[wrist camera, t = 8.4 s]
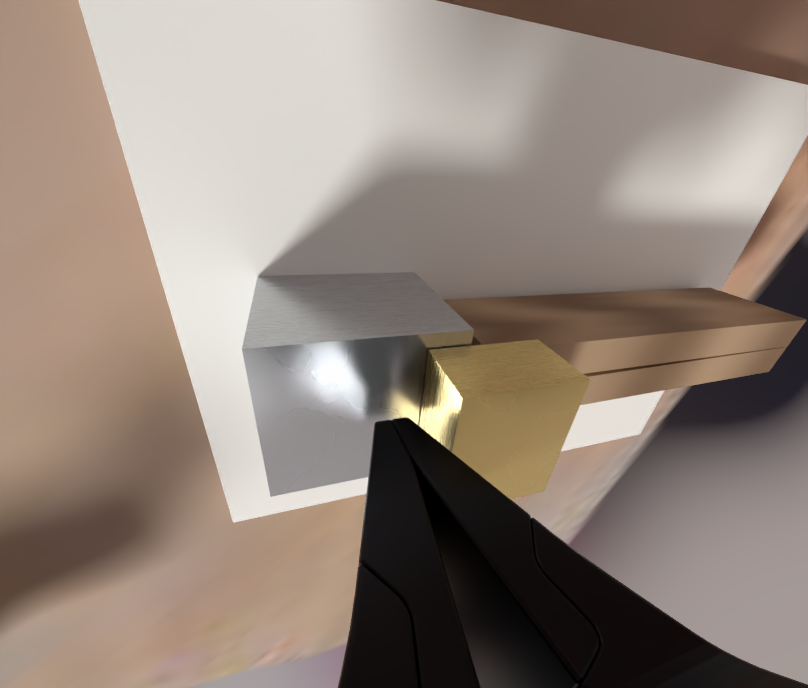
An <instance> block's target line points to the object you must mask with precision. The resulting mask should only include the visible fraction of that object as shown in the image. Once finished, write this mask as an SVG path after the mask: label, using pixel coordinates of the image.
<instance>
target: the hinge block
mask: <svg viewBox="0 0 808 688" xmlns="http://www.w3.org/2000/svg"><path fill="white" fill-rule="evenodd" d="M473 334H474V329H473V328H472V327H471V326H470V325H469V324H468V323H467V322H466V321H465V320H463V319H462V318H461V317H460V316H459V315H458V314H457V313H456V312H455V311H454V310H453V309H452V308H451V307H450V306H449V305H448V304H447V303H446V302H445V301H444V300H443V299H442V298H441V297H440V296H439V295H438V294H437V293H436V292H435V291H434V290H433V289H432V288H430V287H429V286H428V285H427V284H426V283H425V282H424V281H423V280H422V279H421V278H420V277H419V276H418V275H417V274H416V273H415V272H400V273H360V274H320V275H280V276H257V281H256V286H255V290H254V295H253V300H252V304H251V309H250V313H249V318H248V323H247V327H246V332H245V336H244V341H243V346H242V353H243V358H244V363H245V368H246V373H247V378H248V384H249V389H250V394H251V399H252V404H253V409H254V414H255V420H256V425H257V430H258V435H259V440H260V445H261V450H262V455H263V461H264V466H265V471H266V476H267V481H268V486H269V491H270V497H272V496H277V495H282V494H287V493H292V492H297V491H302V490H307V489H312V488H317V487H322V486H327V485H331V484H336V483H341V482H346V481H351V480H356V479H361V478H366V477H368V476H369V467H370V458H371V449H372V440H373V431H374V424H375V422H377V421H383V420H393V419H397V418H404V417H407V418H410V419H411V420H412V421H413V422H415V423H416V424H417V425H418V426H419V424H420V416H421V408H422V399H423V391H424V383H425V375H426V367H427V359H428V350H433V349H443V348H453V347H464V346H471V344H472V339H473Z"/></svg>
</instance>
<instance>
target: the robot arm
mask: <svg viewBox="0 0 808 688" xmlns="http://www.w3.org/2000/svg"><path fill="white" fill-rule="evenodd" d="M338 688H808V685H807V684H804V683H801V682H798V681H796V680H793V679H790V678H787V677H784V676H781V675H779V674H776V673H773V672H770V671H768V670H765V669H762V668H759V667H757V666H755V665H753V664H750V663H748V662H746V661H743V660H741V659H739V658H737V657H735V656H733V655H731V654H729V653H727V652H725V651H724V650H722V649H720V648H718V647H717V646H715V645H713V644H711V643H710V642H708V641H706V640H705V639H703V638H702V637H700V636H698V635H697V634H695V633H694V632H692V631H691V630H689V629H688V628H686V627H685V626H683V625H682V624H681V623H679V622H678V621H676V620H675V619H673V618H672V617H670V616H669V615H667V614H666V613H664V612H663V611H662V610H660V609H659V608H657V607H655V606H654V605H653V604H651V603H650V602H648V601H647V600H645V599H644V598H643V597H641V596H640V595H638V594H637V593H635V592H634V591H632V590H631V589H629V588H628V587H626V586H625V585H623V584H622V583H621V582H619V581H618V580H616V579H615V578H613V577H612V576H610V575H609V574H608V573H606V572H605V571H603V570H602V569H601V568H599V567H598V566H596V565H595V564H593V563H592V562H591V561H589V560H588V559H586V558H585V557H584V556H582V555H581V554H579V553H578V552H577V551H575V550H574V549H573V548H571V547H570V546H569V545H568V544H566V543H565V542H564V541H562V540H561V539H560V538H558V537H557V536H556V535H555V534H553V533H552V532H551V531H549V530H548V529H547V528H546V527H544V526H543V525H542V524H541V523H539V522H538V521H537V520H536V519H534V518H531V517H530V515H529V514H528V513H527V512H526V511H524V510H523V509H522V508H521V507H519V506H518V505H517V504H516V503H514V502H513V501H512V500H511V499H509V498H508V497H507V496H506V495H504V494H503V493H502V492H501V491H499V490H498V489H497V488H496V487H494V486H493V485H492V484H491V483H489V482H488V481H487V480H486V479H484V478H483V477H482V476H481V475H479V474H478V473H477V472H476V471H474V470H473V469H472V468H471V467H469V466H468V465H467V464H466V463H465V462H463V461H462V460H461V459H460V458H458V457H457V456H456V455H455V454H453V453H452V452H451V451H450V450H448V449H447V448H446V447H445V446H443V445H442V444H441V443H440V442H438V441H437V440H436V439H435V438H433V437H432V436H431V435H430V434H428V433H427V432H426V431H425V430H423V429H422V428H421V427H420V426H418V425H417V424H416V423H415V422H413V421H412V420H411V419H410V418H407V417H404V418H397V419H393V420H383V421H377V422H375V424H374V431H373V440H372V449H371V458H370V467H369V476H368V485H367V494H366V503H365V512H364V520H363V529H362V538H361V547H360V556H359V567H358V572H357V581H356V590H355V597H354V604H353V611H352V618H351V625H350V631H349V636H348V641H347V646H346V651H345V656H344V661H343V666H342V671H341V676H340V680H339V685H338Z"/></svg>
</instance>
